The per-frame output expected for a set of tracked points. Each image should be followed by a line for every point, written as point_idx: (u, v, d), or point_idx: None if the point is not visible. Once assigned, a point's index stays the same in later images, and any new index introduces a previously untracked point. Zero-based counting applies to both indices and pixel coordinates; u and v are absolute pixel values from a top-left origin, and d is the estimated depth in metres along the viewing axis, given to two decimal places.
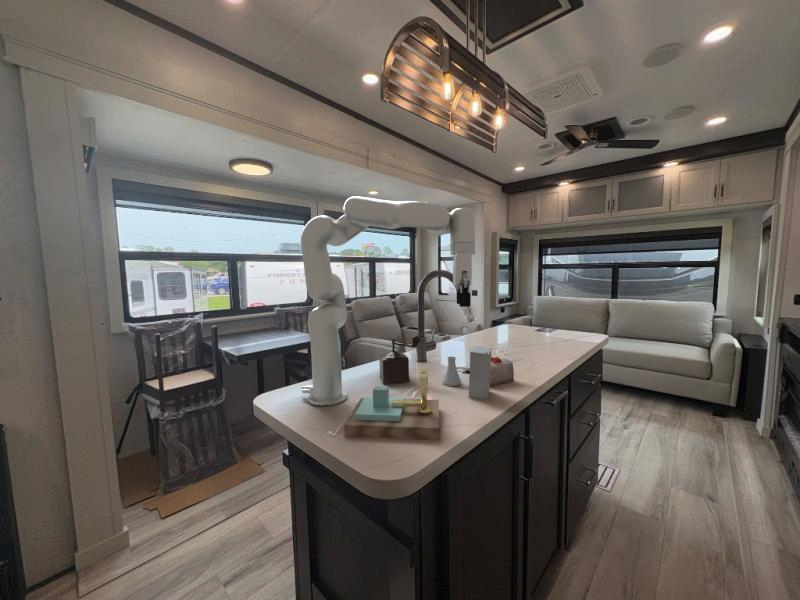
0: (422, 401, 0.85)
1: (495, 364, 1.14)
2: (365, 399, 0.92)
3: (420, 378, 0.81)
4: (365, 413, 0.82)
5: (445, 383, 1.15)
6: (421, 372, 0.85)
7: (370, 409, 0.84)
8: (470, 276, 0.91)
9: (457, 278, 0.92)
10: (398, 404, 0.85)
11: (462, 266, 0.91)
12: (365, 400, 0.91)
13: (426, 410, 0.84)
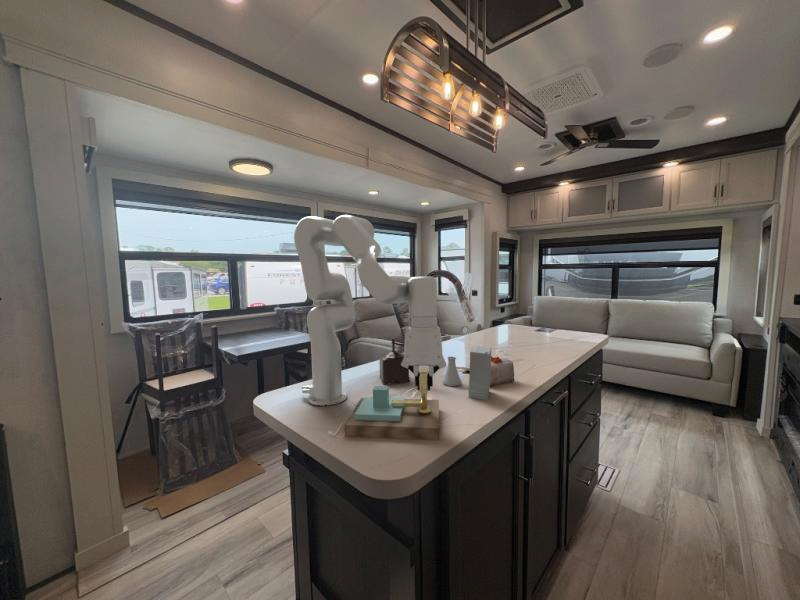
0: (422, 401, 0.85)
1: (496, 364, 1.14)
2: (365, 399, 0.92)
3: (420, 378, 0.81)
4: (365, 413, 0.82)
5: (445, 383, 1.15)
6: (421, 372, 0.85)
7: (370, 409, 0.84)
8: None
9: (442, 356, 0.82)
10: (398, 404, 0.85)
11: (441, 342, 0.83)
12: (365, 400, 0.91)
13: (426, 410, 0.84)
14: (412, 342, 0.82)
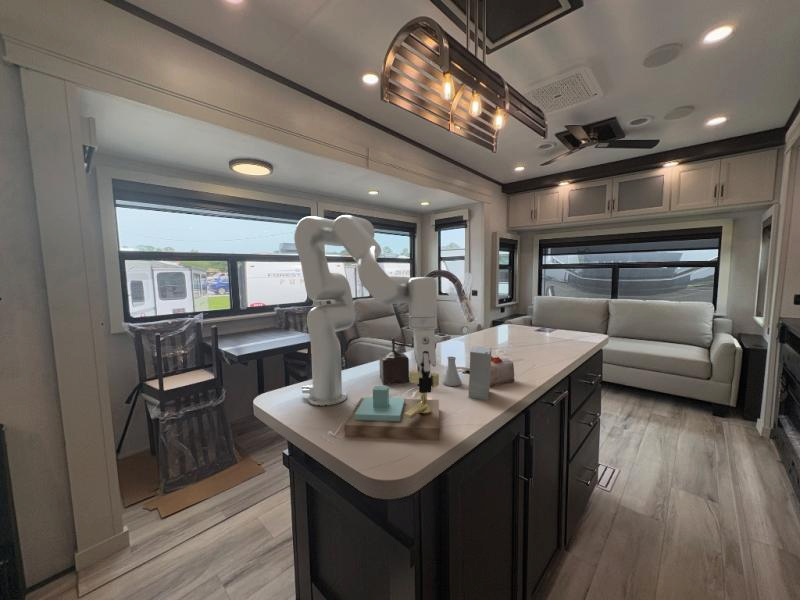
0: (425, 401, 0.85)
1: (496, 364, 1.14)
2: (365, 399, 0.92)
3: (435, 376, 0.82)
4: (365, 413, 0.82)
5: (445, 383, 1.15)
6: None
7: (370, 409, 0.84)
8: None
9: None
10: (414, 414, 0.79)
11: None
12: (365, 400, 0.91)
13: (429, 408, 0.85)
14: None
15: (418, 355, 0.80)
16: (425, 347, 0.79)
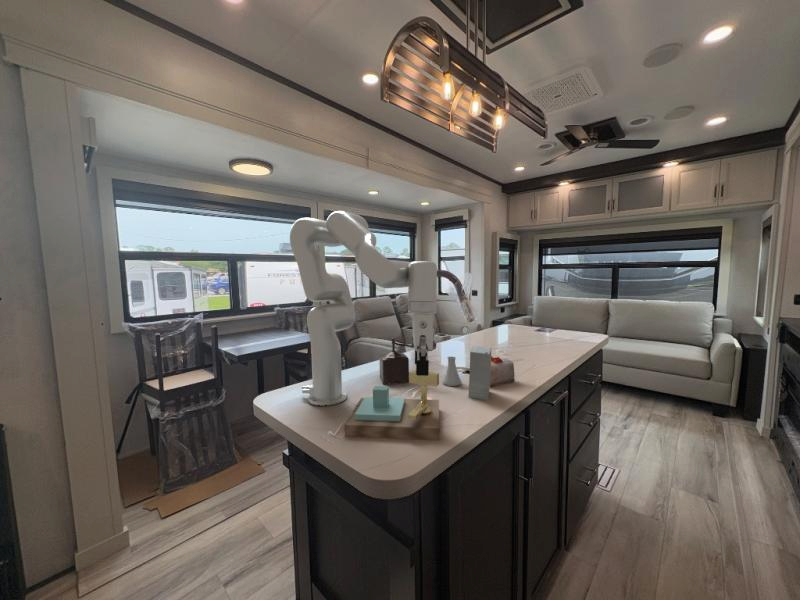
0: (425, 401, 0.85)
1: (496, 364, 1.14)
2: (365, 399, 0.92)
3: (437, 376, 0.83)
4: (365, 413, 0.82)
5: (445, 383, 1.15)
6: None
7: (370, 409, 0.84)
8: None
9: None
10: (418, 414, 0.79)
11: None
12: (365, 400, 0.91)
13: (429, 408, 0.86)
14: None
15: (415, 339, 0.80)
16: (423, 331, 0.79)
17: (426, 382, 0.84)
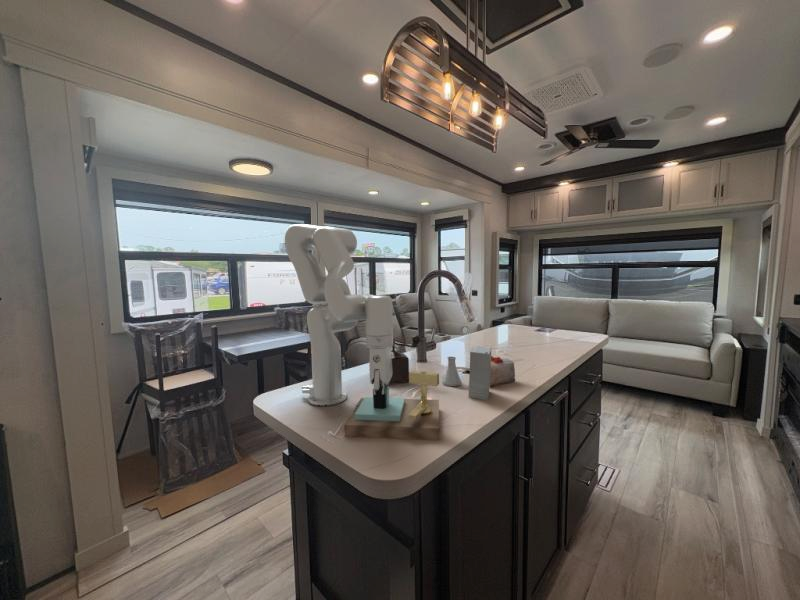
0: (425, 401, 0.85)
1: (497, 364, 1.14)
2: (365, 399, 0.92)
3: (437, 376, 0.83)
4: (365, 413, 0.82)
5: (445, 383, 1.15)
6: (421, 373, 0.84)
7: (370, 409, 0.84)
8: None
9: None
10: (418, 414, 0.79)
11: None
12: (365, 400, 0.91)
13: (429, 408, 0.86)
14: (388, 360, 0.83)
15: (370, 373, 0.82)
16: (376, 365, 0.81)
17: (426, 382, 0.84)
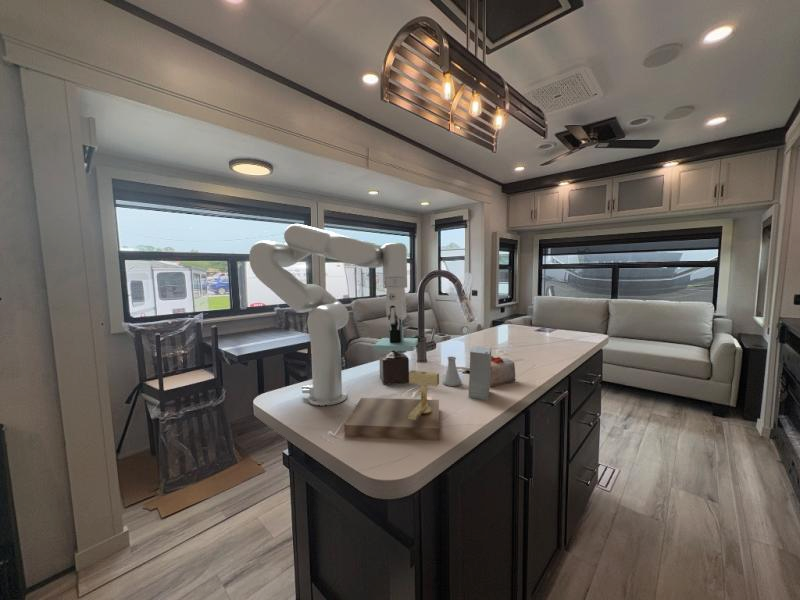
0: (425, 401, 0.85)
1: (497, 364, 1.14)
2: (382, 338, 1.03)
3: (437, 376, 0.83)
4: (382, 345, 0.93)
5: (445, 383, 1.15)
6: (421, 373, 0.84)
7: (387, 343, 0.96)
8: None
9: None
10: (418, 414, 0.79)
11: None
12: (382, 339, 1.02)
13: (429, 408, 0.86)
14: (402, 299, 0.94)
15: (386, 309, 0.93)
16: (392, 302, 0.93)
17: (426, 382, 0.84)
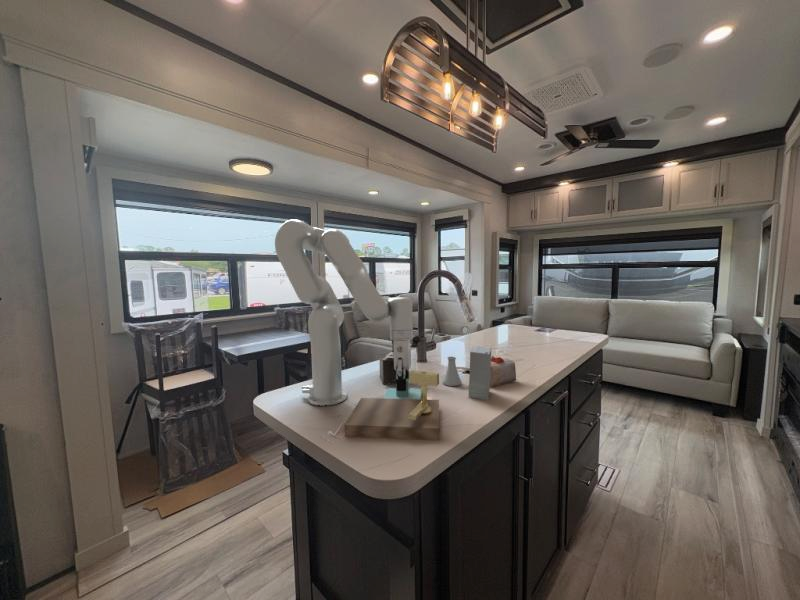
0: (425, 401, 0.85)
1: (498, 364, 1.14)
2: (388, 389, 1.09)
3: (437, 376, 0.83)
4: None
5: (445, 383, 1.15)
6: (421, 373, 0.84)
7: (394, 397, 1.02)
8: None
9: None
10: (418, 414, 0.79)
11: None
12: (388, 390, 1.08)
13: (429, 408, 0.86)
14: (409, 350, 1.00)
15: (394, 360, 0.99)
16: (400, 354, 0.99)
17: (426, 382, 0.84)
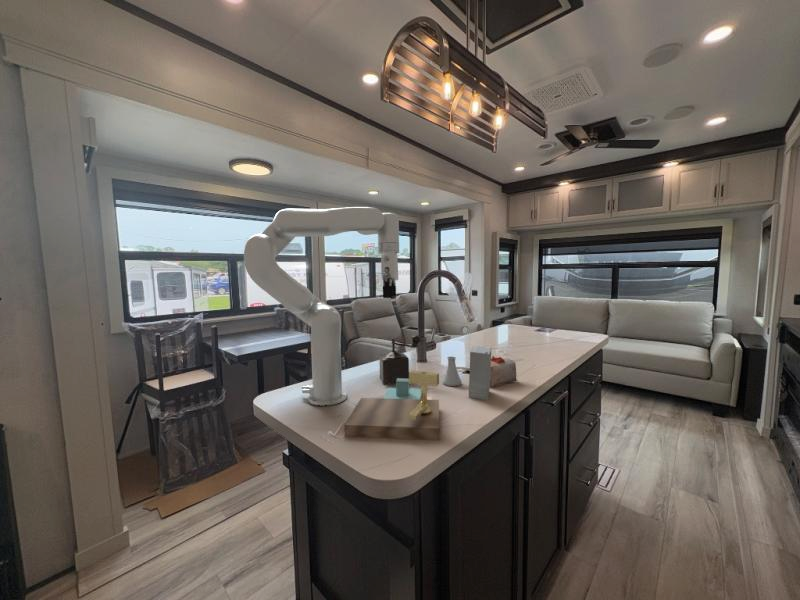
0: (425, 401, 0.85)
1: (499, 364, 1.13)
2: (388, 389, 1.09)
3: (437, 376, 0.83)
4: None
5: (445, 383, 1.15)
6: (421, 373, 0.84)
7: (394, 397, 1.02)
8: None
9: None
10: (418, 414, 0.79)
11: None
12: (388, 390, 1.08)
13: (429, 408, 0.86)
14: (395, 262, 1.08)
15: (381, 270, 1.07)
16: (386, 264, 1.06)
17: (426, 382, 0.84)
